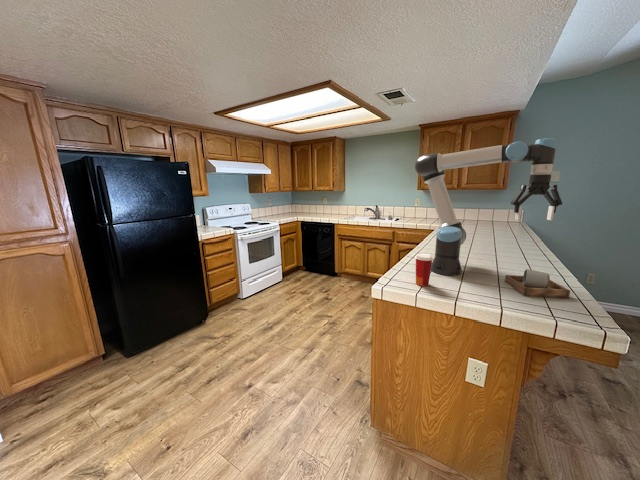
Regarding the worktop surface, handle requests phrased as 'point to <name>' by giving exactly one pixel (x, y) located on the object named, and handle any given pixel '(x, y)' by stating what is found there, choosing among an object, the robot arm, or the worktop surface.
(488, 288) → the worktop surface
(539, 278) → the ceramic mug
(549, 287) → the tray
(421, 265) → the paper cup
